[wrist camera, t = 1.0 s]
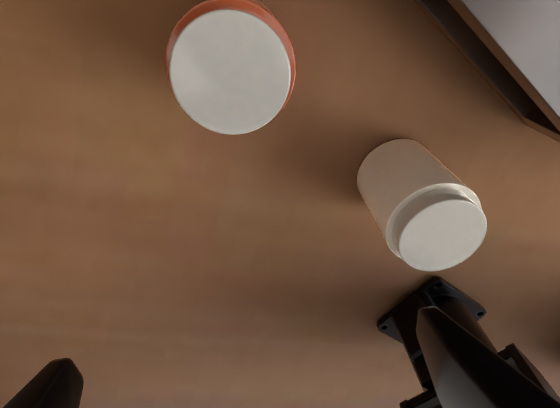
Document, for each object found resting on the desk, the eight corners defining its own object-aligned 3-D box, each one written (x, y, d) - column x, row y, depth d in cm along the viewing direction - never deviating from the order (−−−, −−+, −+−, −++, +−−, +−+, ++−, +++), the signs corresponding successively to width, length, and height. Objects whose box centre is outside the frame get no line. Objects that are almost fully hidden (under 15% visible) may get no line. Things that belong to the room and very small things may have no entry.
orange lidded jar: (302, 38, 18) (328, 64, 13) (246, 114, 20) (246, 165, 15) (221, -34, 16) (210, -40, 11) (167, 56, 18) (133, 91, 13)
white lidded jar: (448, 167, 23) (514, 228, 17) (392, 219, 25) (434, 289, 19) (398, 122, 21) (452, 174, 16) (340, 182, 23) (371, 248, 17)
